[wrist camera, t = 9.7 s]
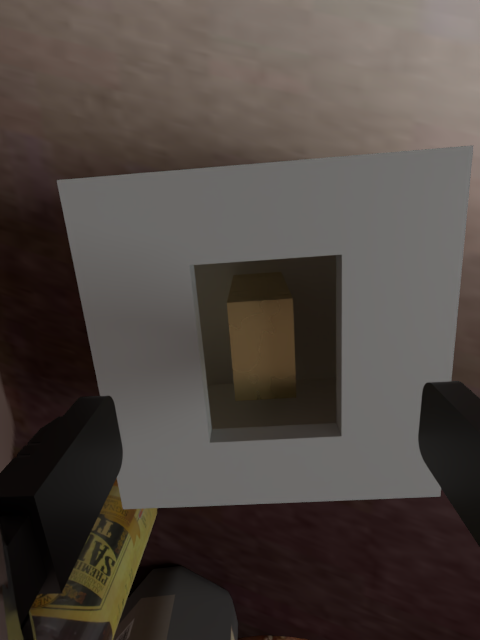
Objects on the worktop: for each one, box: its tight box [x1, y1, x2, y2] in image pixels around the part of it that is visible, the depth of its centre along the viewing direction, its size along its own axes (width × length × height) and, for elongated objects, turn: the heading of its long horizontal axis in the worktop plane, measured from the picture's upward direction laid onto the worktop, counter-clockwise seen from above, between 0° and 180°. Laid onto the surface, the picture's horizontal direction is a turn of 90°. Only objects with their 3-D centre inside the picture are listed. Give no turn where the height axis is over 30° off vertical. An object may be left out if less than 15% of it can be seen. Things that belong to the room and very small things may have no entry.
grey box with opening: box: [57, 146, 473, 509], centre depth 20 cm, size 14×14×11 cm
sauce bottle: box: [30, 478, 157, 640], centre depth 21 cm, size 7×6×20 cm
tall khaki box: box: [227, 272, 296, 401], centre depth 21 cm, size 5×3×7 cm, turn 4°
